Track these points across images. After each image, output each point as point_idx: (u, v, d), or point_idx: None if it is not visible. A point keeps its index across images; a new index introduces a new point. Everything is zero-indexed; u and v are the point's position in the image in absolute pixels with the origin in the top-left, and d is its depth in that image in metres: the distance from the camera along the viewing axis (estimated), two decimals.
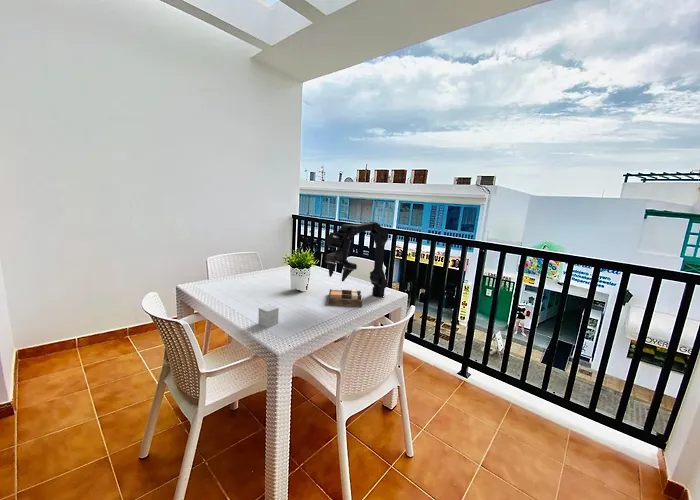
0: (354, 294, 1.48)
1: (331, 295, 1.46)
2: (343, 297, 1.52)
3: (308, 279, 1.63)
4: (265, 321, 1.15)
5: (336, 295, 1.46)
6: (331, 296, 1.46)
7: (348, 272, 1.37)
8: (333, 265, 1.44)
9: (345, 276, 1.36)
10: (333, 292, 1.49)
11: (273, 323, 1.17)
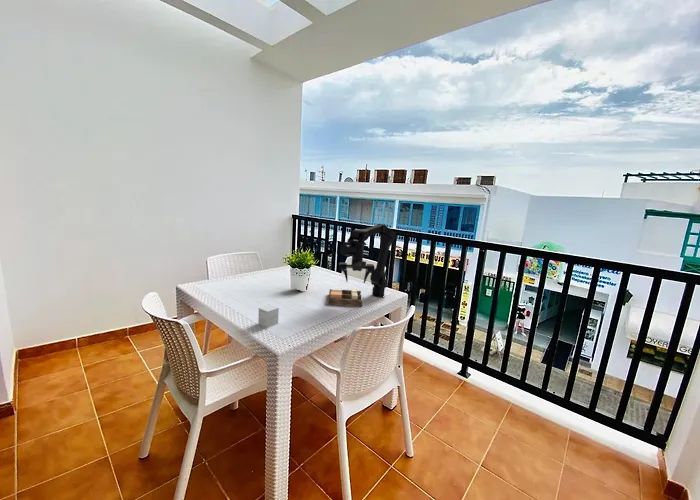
0: (354, 294, 1.48)
1: (331, 295, 1.46)
2: (343, 297, 1.52)
3: (308, 279, 1.63)
4: (265, 321, 1.15)
5: (336, 295, 1.46)
6: (331, 296, 1.46)
7: None
8: (346, 270, 1.47)
9: None
10: (333, 292, 1.49)
11: (273, 323, 1.17)
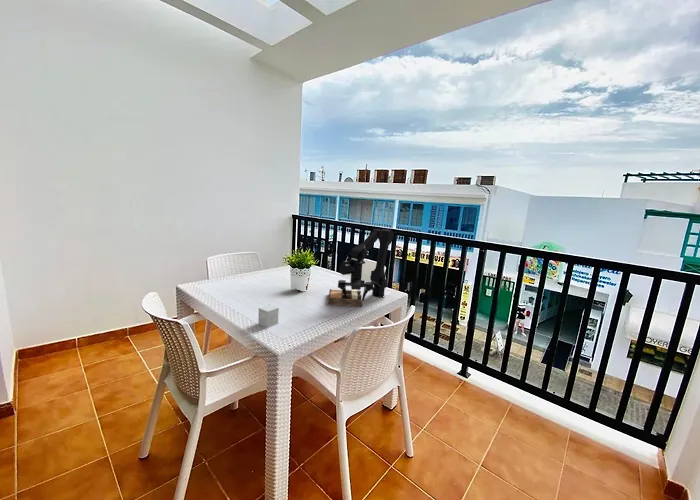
0: (354, 294, 1.48)
1: (331, 295, 1.46)
2: (343, 297, 1.52)
3: (308, 279, 1.63)
4: (265, 321, 1.15)
5: (336, 295, 1.46)
6: (331, 296, 1.46)
7: None
8: (345, 288, 1.49)
9: None
10: (333, 292, 1.49)
11: (273, 323, 1.17)
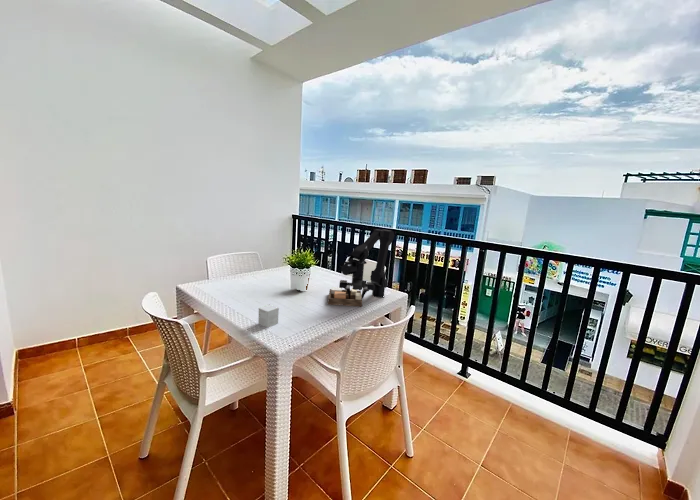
0: (358, 294, 1.48)
1: (335, 295, 1.46)
2: None
3: (308, 279, 1.63)
4: (265, 321, 1.15)
5: (340, 295, 1.46)
6: (335, 296, 1.46)
7: None
8: (349, 288, 1.49)
9: None
10: (337, 292, 1.49)
11: (273, 323, 1.17)
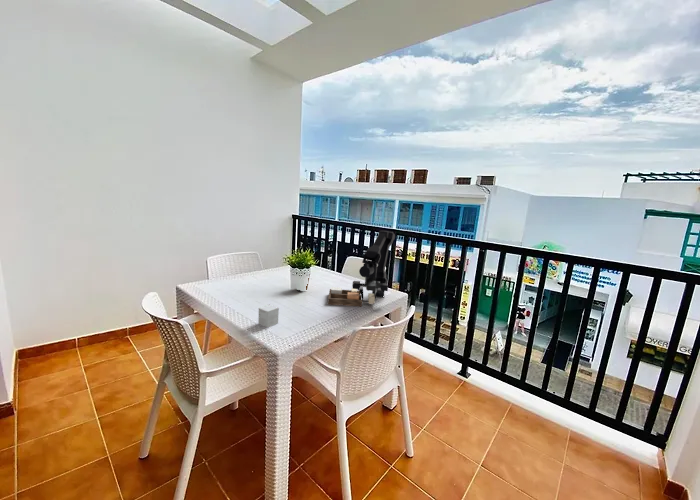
0: (371, 295, 1.49)
1: (348, 296, 1.46)
2: (343, 297, 1.52)
3: (308, 279, 1.63)
4: (265, 321, 1.15)
5: (353, 296, 1.47)
6: (348, 297, 1.46)
7: None
8: (362, 289, 1.49)
9: None
10: (350, 293, 1.49)
11: (273, 323, 1.17)
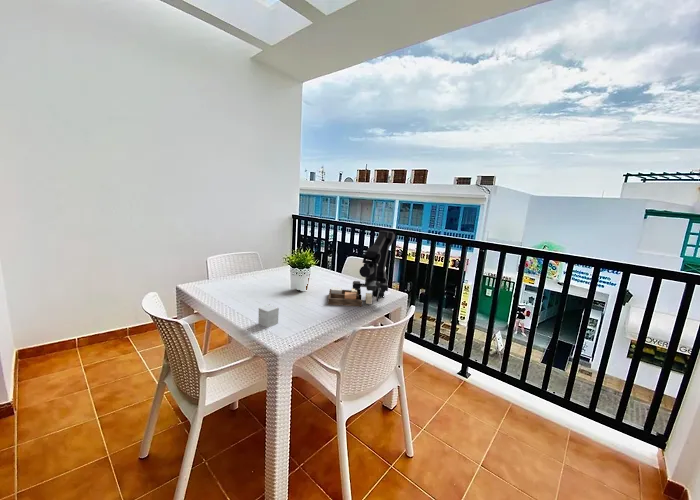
0: (368, 295, 1.48)
1: (345, 296, 1.46)
2: (343, 297, 1.52)
3: (308, 279, 1.63)
4: (265, 321, 1.15)
5: (350, 296, 1.46)
6: (346, 297, 1.46)
7: None
8: None
9: None
10: (347, 293, 1.49)
11: (273, 323, 1.17)
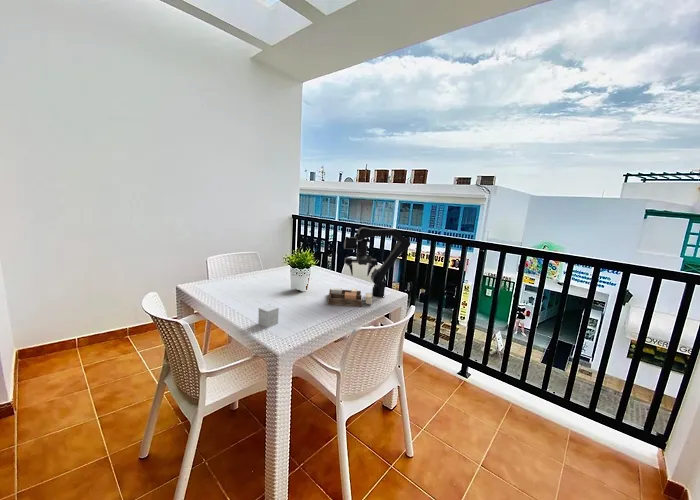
0: (368, 295, 1.48)
1: (345, 296, 1.46)
2: (343, 297, 1.52)
3: (308, 279, 1.63)
4: (265, 321, 1.15)
5: (350, 296, 1.46)
6: (346, 297, 1.46)
7: None
8: None
9: None
10: (347, 293, 1.49)
11: (273, 323, 1.17)
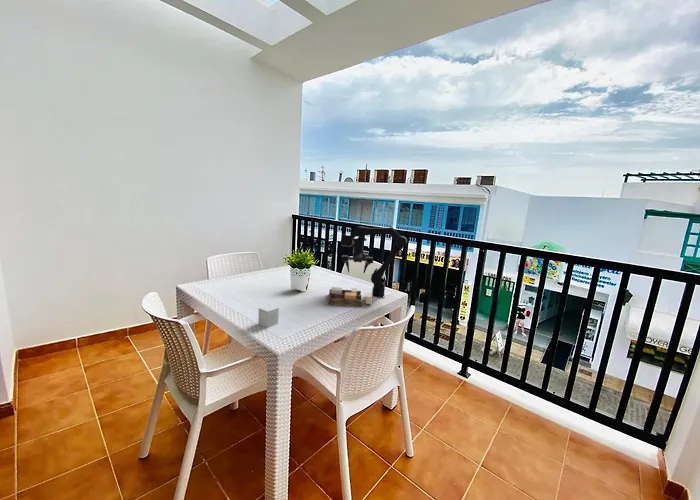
0: (368, 295, 1.48)
1: (345, 296, 1.46)
2: (343, 297, 1.52)
3: (308, 279, 1.63)
4: (265, 321, 1.15)
5: (350, 296, 1.46)
6: (346, 297, 1.46)
7: None
8: (348, 262, 1.66)
9: (365, 269, 1.66)
10: (347, 293, 1.49)
11: (273, 323, 1.17)
